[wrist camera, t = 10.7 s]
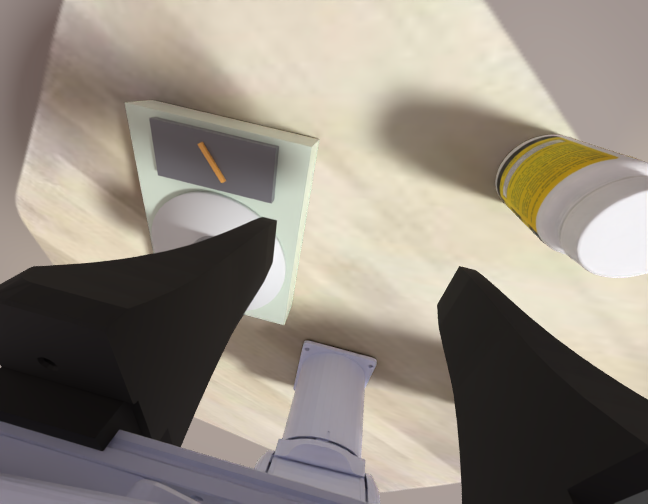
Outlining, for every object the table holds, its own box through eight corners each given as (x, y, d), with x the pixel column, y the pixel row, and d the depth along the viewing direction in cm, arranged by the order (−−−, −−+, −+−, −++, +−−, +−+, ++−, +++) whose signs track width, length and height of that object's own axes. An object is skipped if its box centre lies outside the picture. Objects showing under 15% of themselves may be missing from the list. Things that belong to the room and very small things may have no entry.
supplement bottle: (481, 201, 19) (539, 273, 12) (514, 127, 16) (614, 164, 9) (553, 213, 19) (658, 295, 12) (600, 140, 16) (770, 188, 9)
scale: (291, 306, 27) (281, 331, 25) (177, 276, 28) (155, 297, 25) (319, 139, 19) (308, 149, 16) (152, 99, 19) (113, 103, 16)
